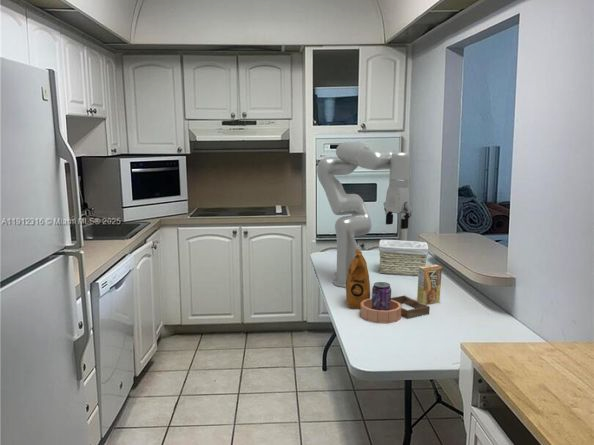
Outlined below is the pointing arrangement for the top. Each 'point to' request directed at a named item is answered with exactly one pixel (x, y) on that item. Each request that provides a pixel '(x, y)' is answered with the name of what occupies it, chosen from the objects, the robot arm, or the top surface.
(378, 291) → the beverage can
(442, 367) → the top surface
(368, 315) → the bowl
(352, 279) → the coffee package
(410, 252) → the storage basket
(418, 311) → the tray frame
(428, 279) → the candy box
